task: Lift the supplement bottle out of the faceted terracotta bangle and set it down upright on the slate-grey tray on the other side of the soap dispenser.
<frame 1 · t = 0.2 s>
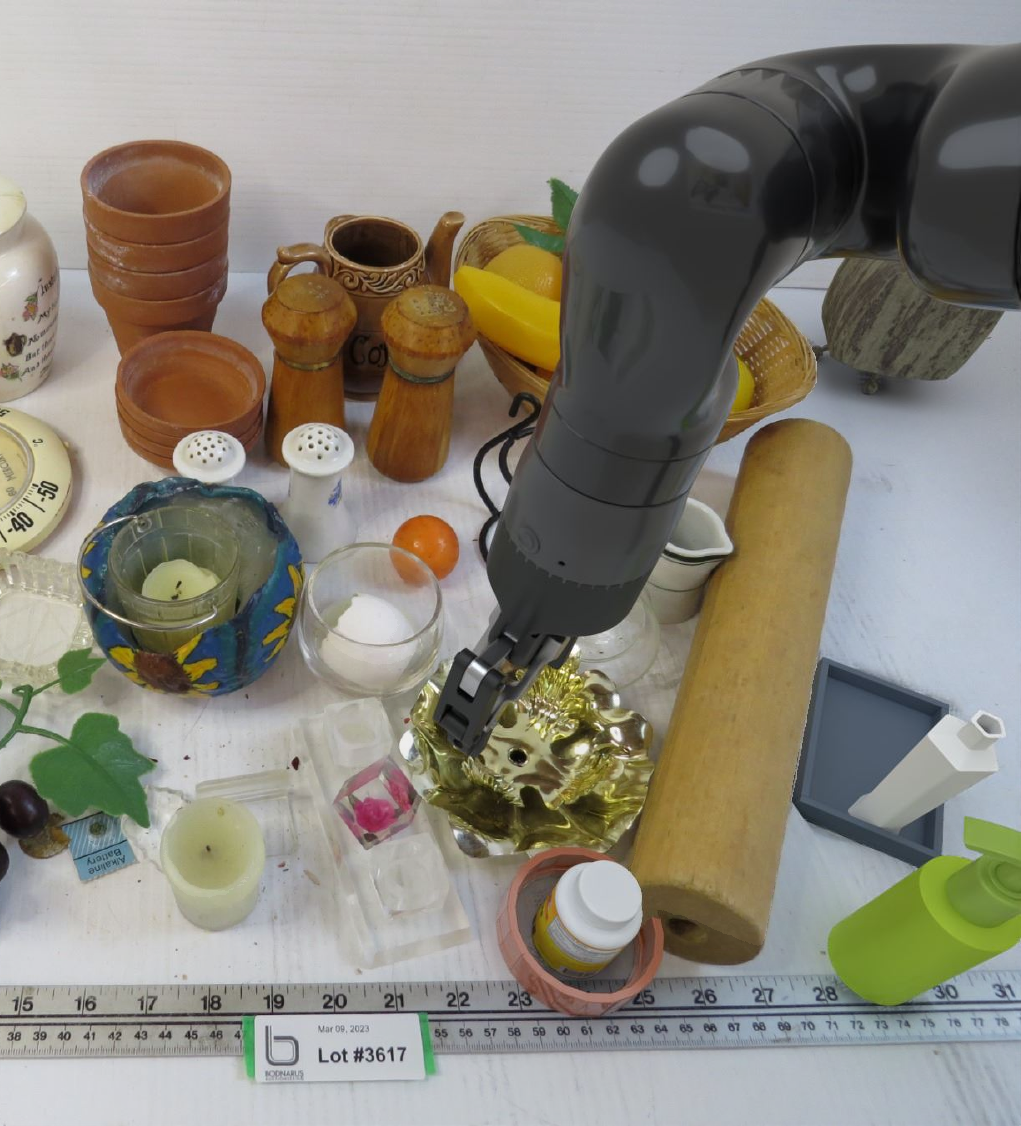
hand: (506, 699, 57), 20 cm above the table, tool pointing down, fingers open, 8 cm apart
tray: (864, 763, 79), on the table
tabletop clock: (861, 382, 110), on the table
soap dispenser: (851, 965, 68), on the table
supplement bottle: (565, 943, 68), resting on faceted terracotta bangle
faceted terracotta bangle: (564, 944, 68), on the table
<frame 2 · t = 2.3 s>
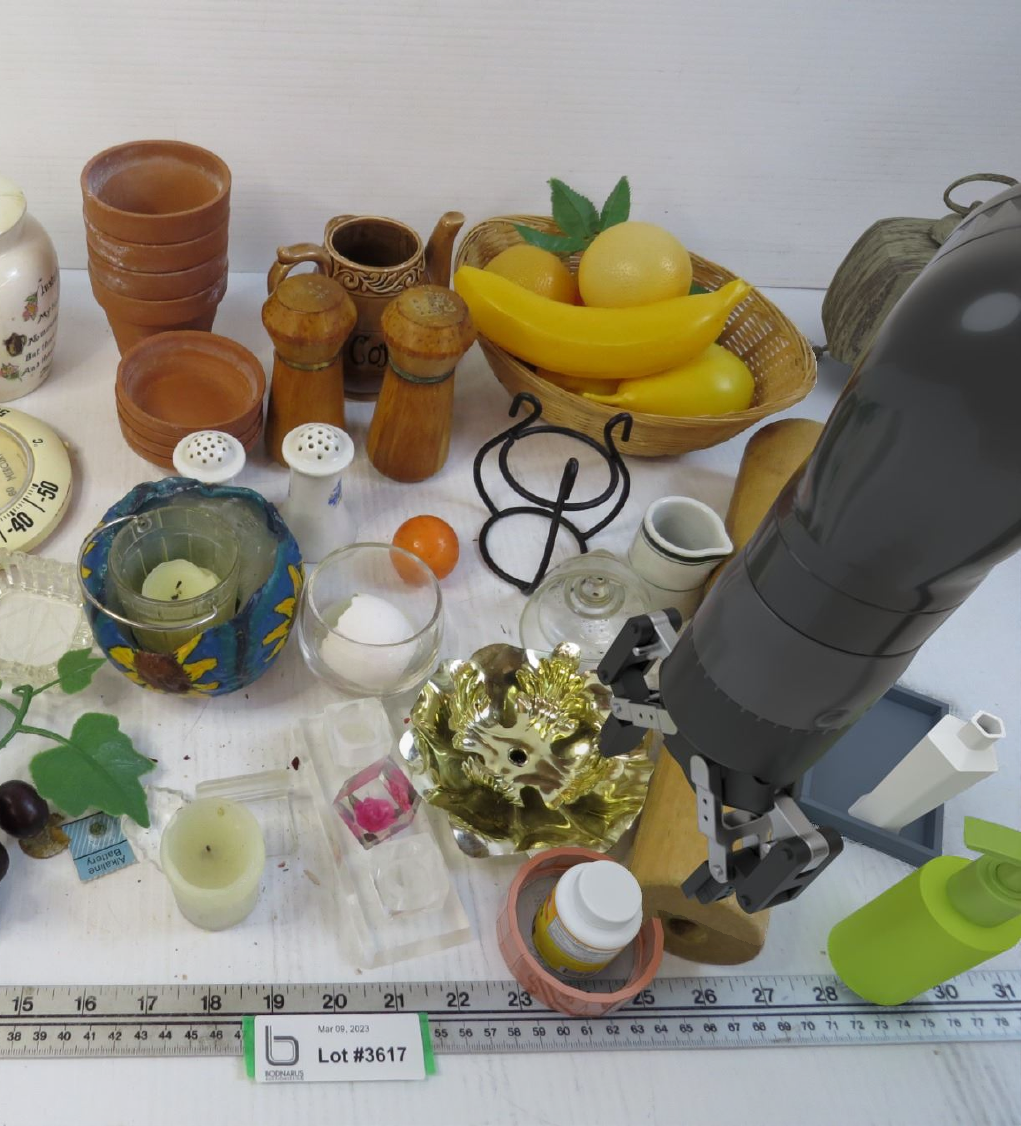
hand: (654, 815, 53), 20 cm above the table, tool pointing down, fingers open, 8 cm apart
nothing on the table moved.
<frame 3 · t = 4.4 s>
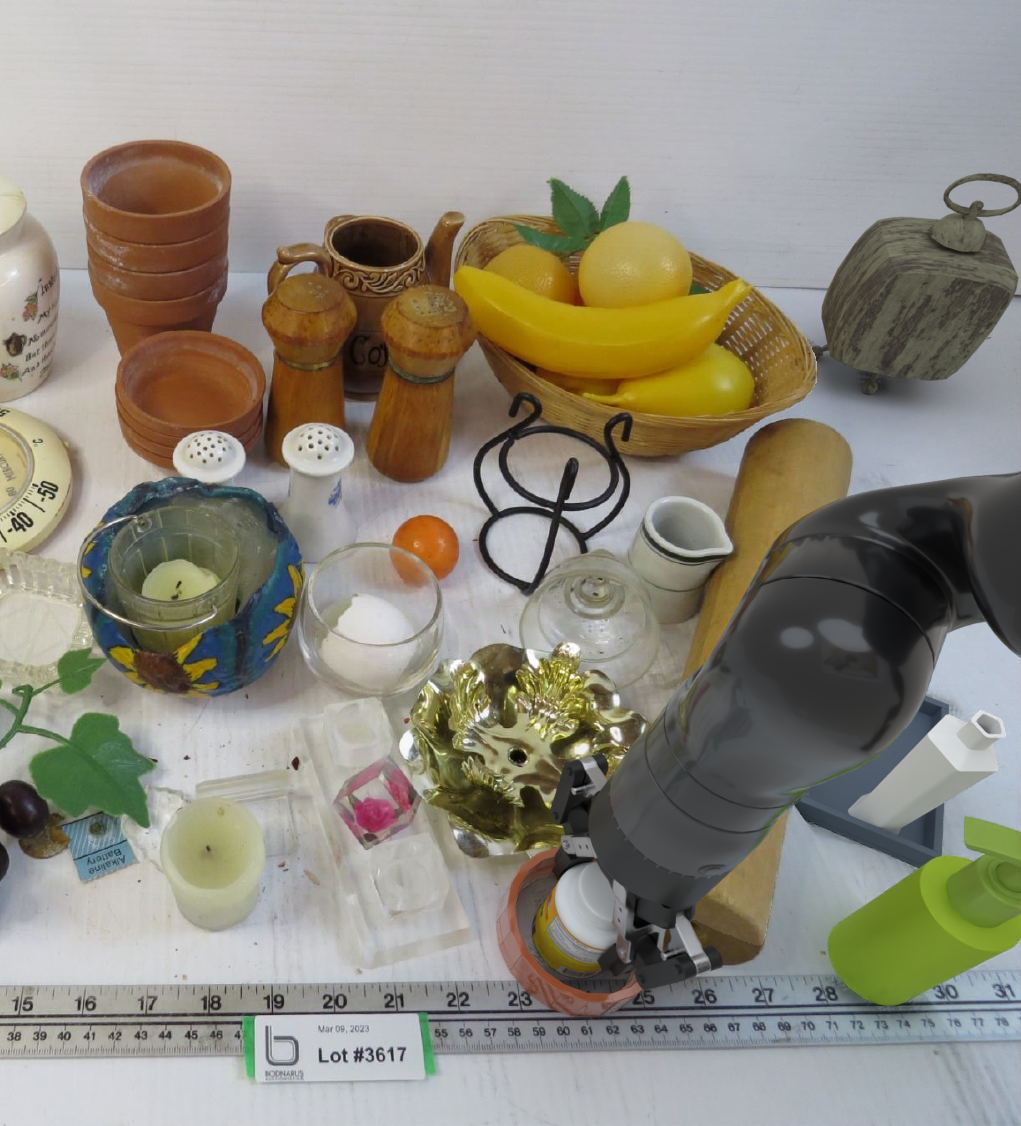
hand: (589, 915, 64), 6 cm above the table, tool pointing down, fingers closed on supplement bottle, 5 cm apart
supplement bottle: (565, 943, 68), resting on faceted terracotta bangle, touching gripper
everything else where it was.
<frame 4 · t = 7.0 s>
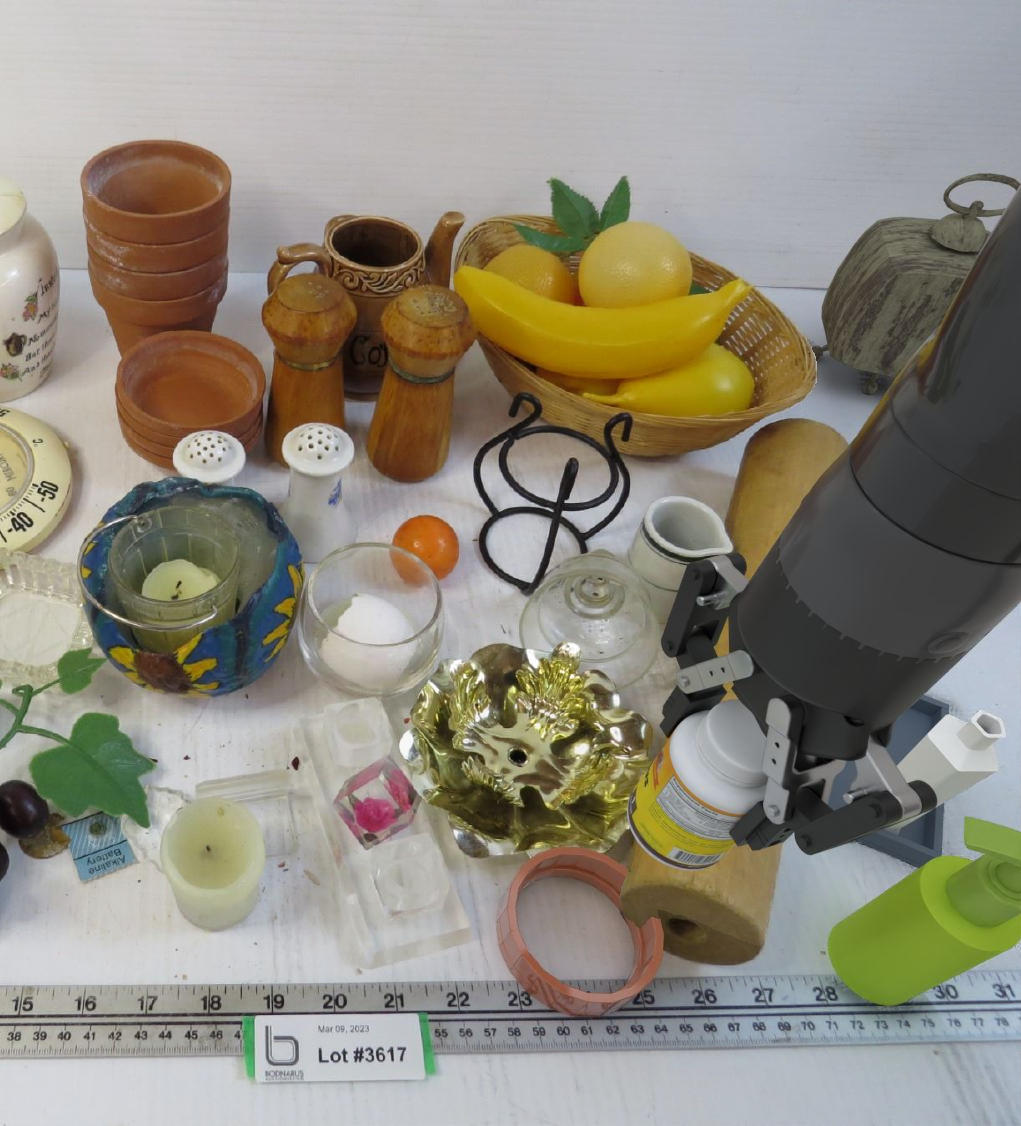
hand: (712, 779, 49), 25 cm above the table, tool pointing down, fingers closed on supplement bottle, 5 cm apart
supplement bottle: (672, 827, 53), point 20 cm above the table, touching gripper
everything else where it was.
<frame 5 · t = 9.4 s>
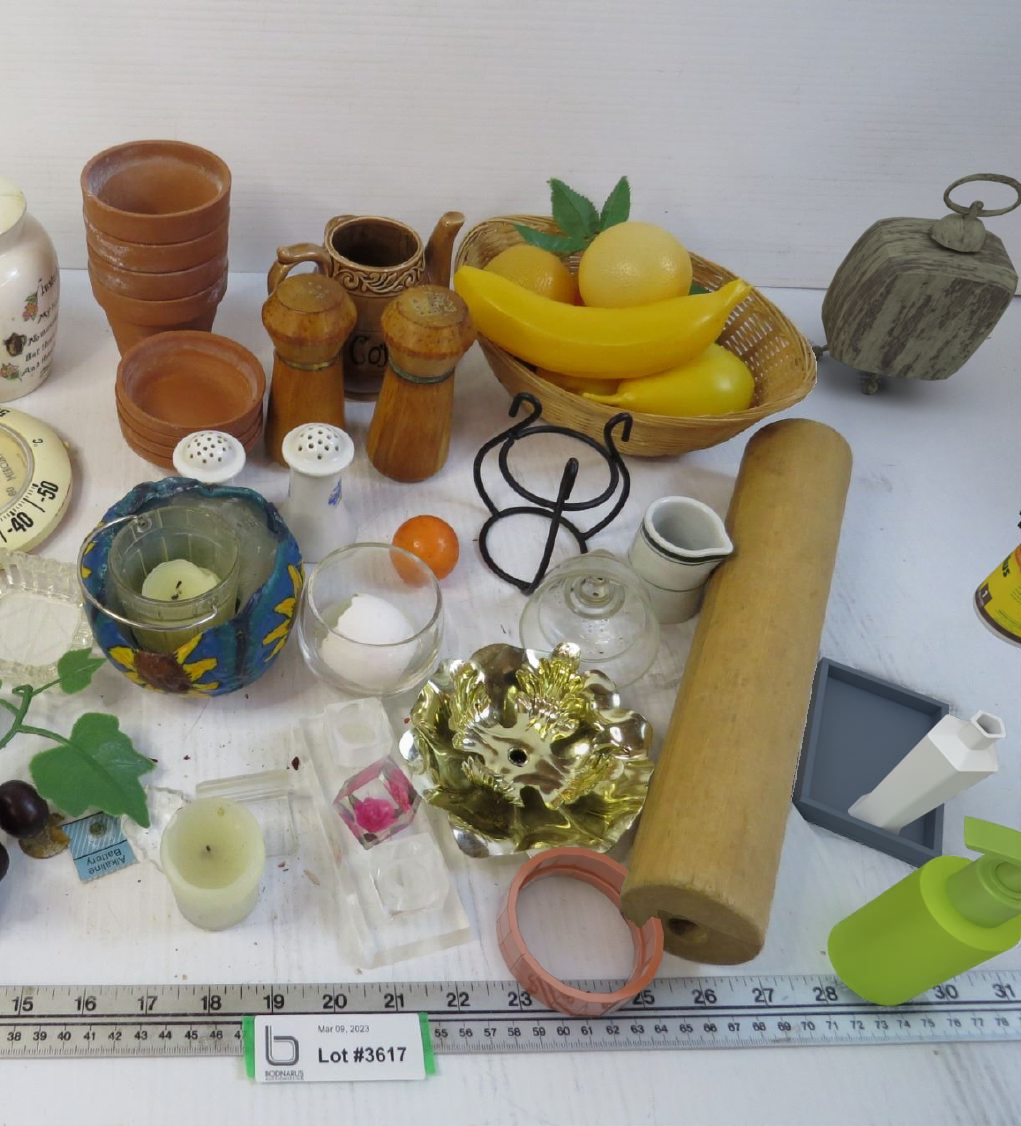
supplement bottle: (1011, 621, 61), point 21 cm above the table, touching gripper
everything else where it was.
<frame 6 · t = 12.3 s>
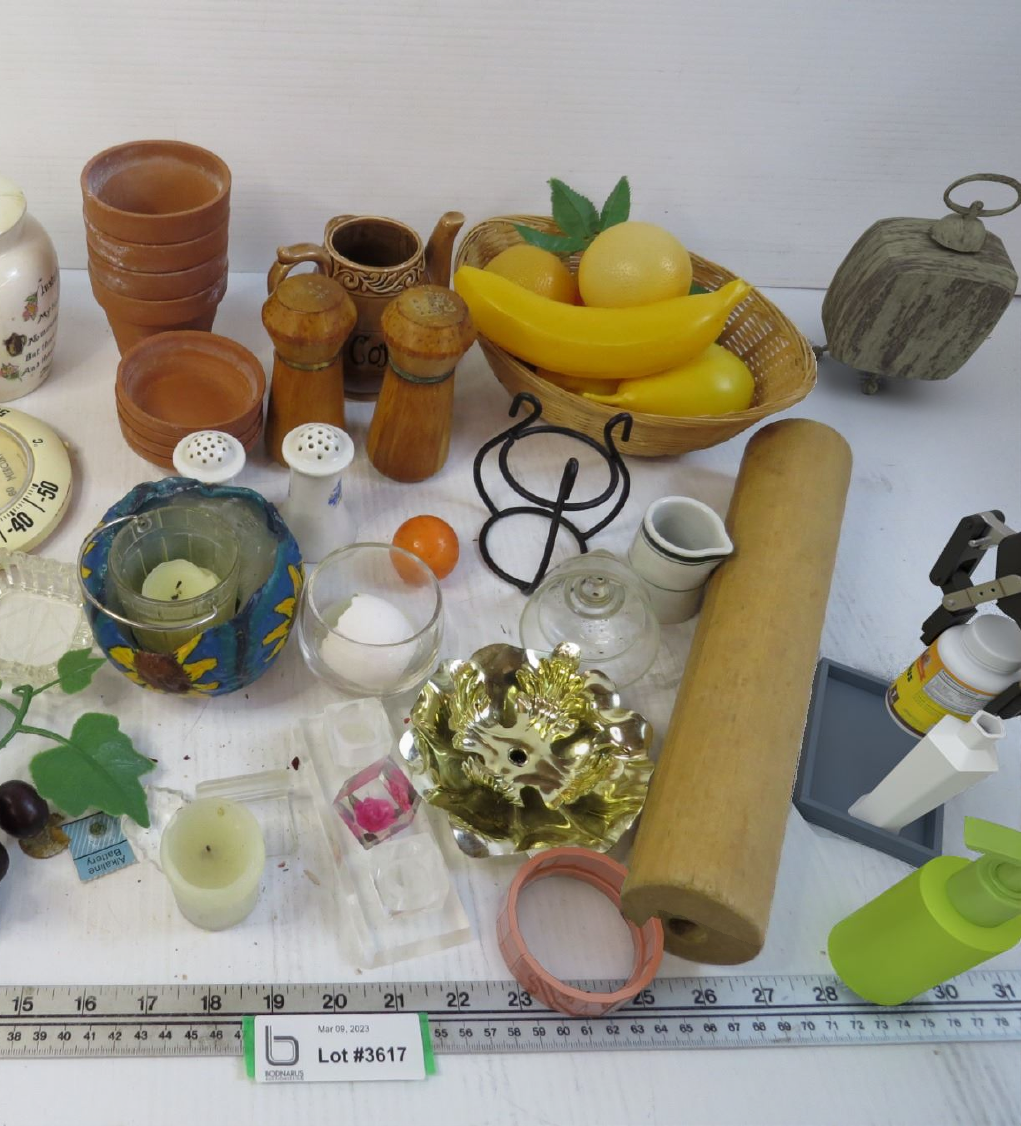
hand: (963, 674, 68), 14 cm above the table, tool pointing down, fingers closed on supplement bottle, 5 cm apart
supplement bottle: (918, 715, 72), point 8 cm above the table, touching gripper
everything else where it was.
when the fingers open (6 cm above the table, at t = 14.6 s): supplement bottle stays where it is, resting on tray.
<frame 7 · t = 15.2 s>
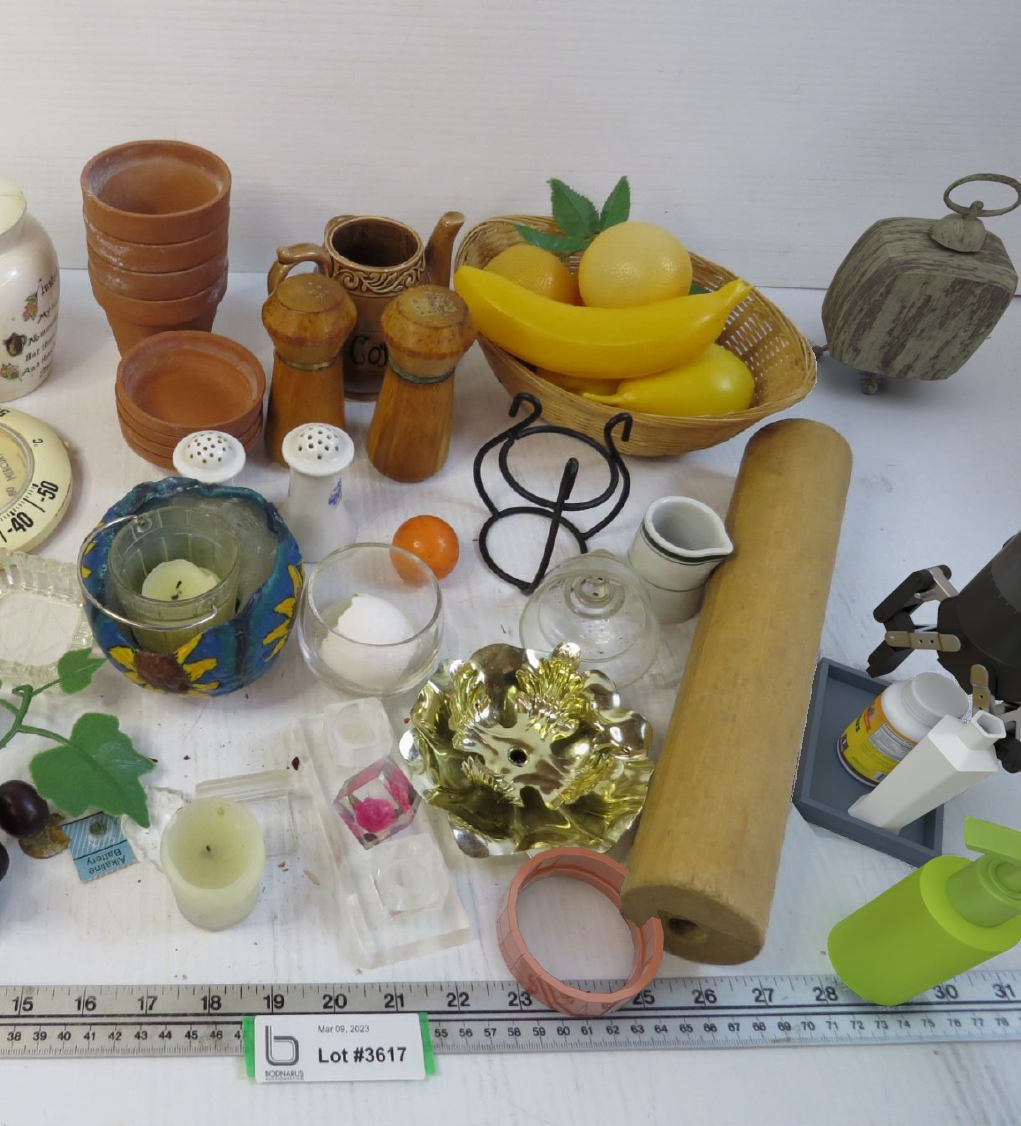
hand: (915, 717, 73), 7 cm above the table, tool pointing down, fingers open, 8 cm apart
supplement bottle: (867, 761, 78), resting on tray
everything else where it was.
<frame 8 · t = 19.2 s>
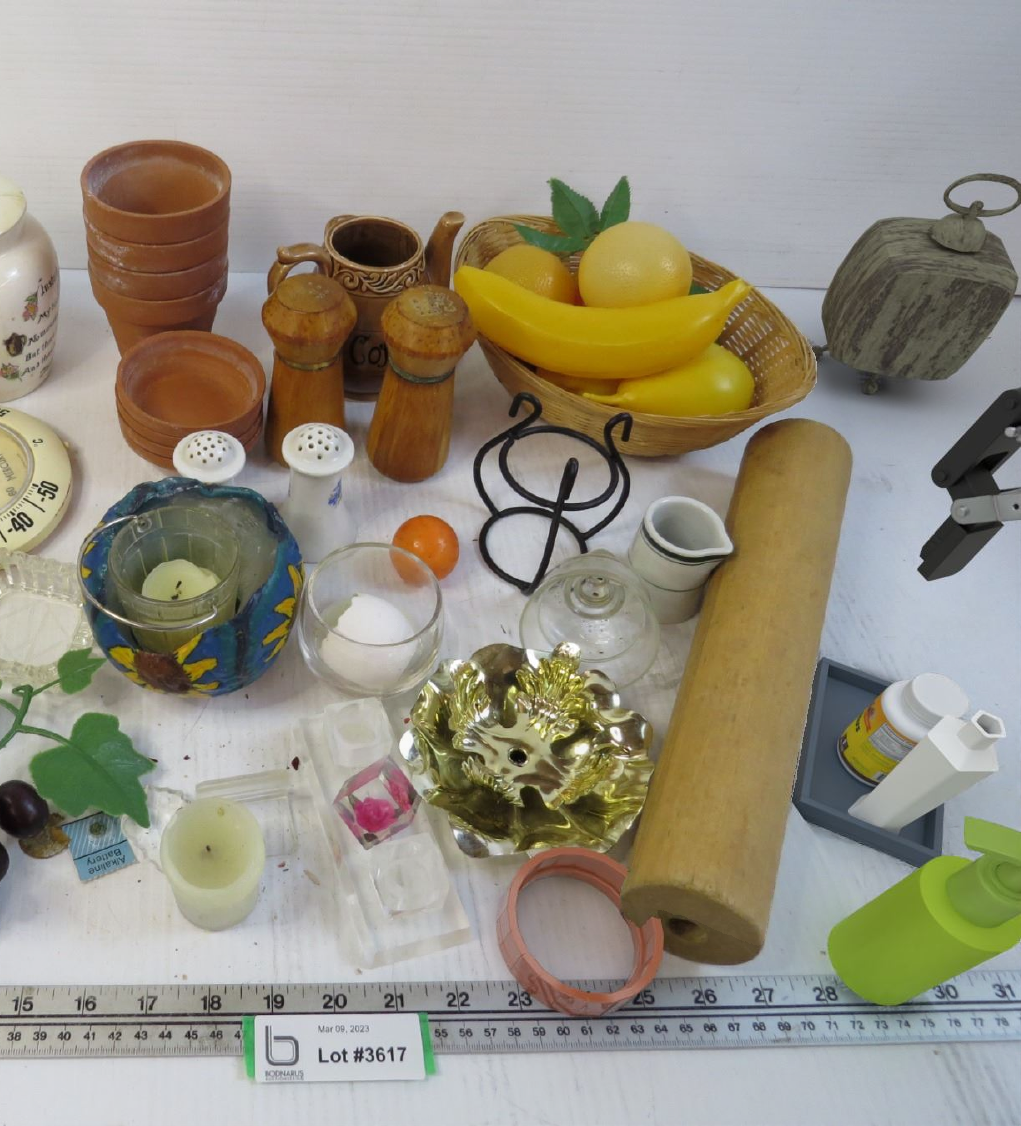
hand: (998, 640, 46), 33 cm above the table, tool pointing down, fingers open, 8 cm apart
nothing on the table moved.
at the end: supplement bottle inside the target area in the tray (0.1 cm from its centre), point 0.4 cm above the tray's base; supplement bottle tilted 0°; the gripper is holding nothing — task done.
